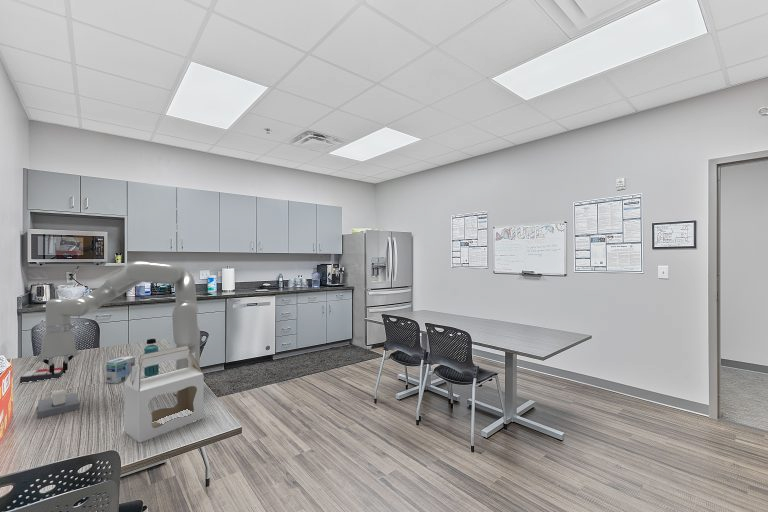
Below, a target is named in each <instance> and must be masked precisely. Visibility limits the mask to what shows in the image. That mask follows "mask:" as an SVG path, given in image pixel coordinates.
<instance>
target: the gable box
mask: <svg viewBox="0 0 768 512" xmlns="http://www.w3.org/2000/svg"><path fill="white" fill-rule="evenodd" d="M189 351H190V349H188V346H182V347H177V346H176V347H173V348H168V349H164V350H162V349H161V350H158V351H157V352H152V353H147V354H144V353H143V354H141V355H140V356H139V360H138V362H137V363H135V365H133V366H132V367H131V373H130V375H129V377H128V378H127V380H125V381H124V384H123V386H124V388H123V393H124V394H123V396H124V397H123V398H124V401H123V405H124V409H123V410H124V411H123V412H124V417H123V418H124V421H123V422H124V427H123V428H124V433H126V434H127V435H128V436H129V437H130V438H132V439H134V441H137V442H138V443H143V442H145V441H149V440H151V439H154V438H156V437H159V436H162V435H164V434H167V433H169V431H170V432H172V431H175V430H177V429H179V428H178V427H180V426H183V425H185V426H187V425H186V424H188V423H190V424H192V423H191V422H193V421H195V420H198V419H200V418H203V417H204V416H205V412H204V411H205V408H204V406H205V405H204V404H205V403H204V402H205V401H204V400H205V399H204V396H205V395H204V393H205V392H204V390H205V389H204V386H205V385H204V383H205V381H204V379H205V378H204V372H203V370H202V369H201V366H200V367H199V365H198V363H197V362H196V359H195V352H192V353H190V352H189ZM182 358H183V359H184V358H187V367H185V368H181V369H177V370H176V369H174V370H170V371H166V372H162V373H158V374H157V375H154V376H145V377H142V370H143V369H144V367H148V366H152V365H156V364H158V365H160V364H165V363H169V362H173V361H176V360H178V359H182ZM193 366H194V367H193ZM176 391H178V393H177V395H176V399H177V403H176V405H174V406H172V407H164V408H160V409H156V410H154V411H152V412H151V410H150V407H149V403H150V401H151V400H152V399H153V398H155V397H157V396H160V395H163V394H170V393H173V392H176ZM186 409H188V410H190V411H192V412H193V413H192V414H190V415H188V416H184V417H177V418H174V419H171V420H169V421H167V422H165V423H164V424H162V423H161V424H160V423H157V422H154V421H157V420H159V419H161V418H164V417H166V416H169V415H172V414H175V413H178V412H180V411H183V410H186ZM204 418H205V417H204ZM204 418H203V419H204ZM198 421H199V420H198ZM152 422H154V423H152ZM193 423H194V422H193ZM188 425H189V424H188ZM183 427H184V426H183ZM176 428H177V429H176ZM180 428H181V427H180ZM174 429H175V430H174ZM171 430H172V431H171Z"/></svg>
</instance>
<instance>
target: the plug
mask: <svg viewBox="0 0 768 512" xmlns="http://www.w3.org/2000/svg"><path fill="white" fill-rule="evenodd" d="M65 395H66V390H65V389H60V390H53V391H52V398H53V406H58V405H62V404H64V403H65Z"/></svg>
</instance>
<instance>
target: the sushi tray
mask: <svg viewBox="0 0 768 512" xmlns="http://www.w3.org/2000/svg"><path fill="white" fill-rule="evenodd" d="M62 374H63V366H60V367H54V375H52V373H49V368H42V369H38V370H37V369H33V370H27V371H26V372H25V373H23V374H22V375H21V376H20V377H19V384H20V383H22V382H29V381H36V382H38V381H37V380H44V379H51V378H58V379H60V378H61V377H62V376H63V375H64V374H63V375H62ZM61 375H62V376H61ZM59 377H60V378H59ZM51 380H52V379H51ZM44 381H45V380H44Z"/></svg>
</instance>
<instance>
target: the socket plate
mask: <svg viewBox="0 0 768 512" xmlns="http://www.w3.org/2000/svg"><path fill="white" fill-rule="evenodd" d="M78 397H79V396H78V395H77V392H72V393H67V394H65V403H64V404H62V405H58V406H53V397H48V398H43V399H40V400H38V405H37V407H38V409H37V417H38V418H39V419H42V417H43V418H47V417H50V416H55V415H60V414H63V413H68V412H73V411H76V410H80V401H79V398H78Z"/></svg>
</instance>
